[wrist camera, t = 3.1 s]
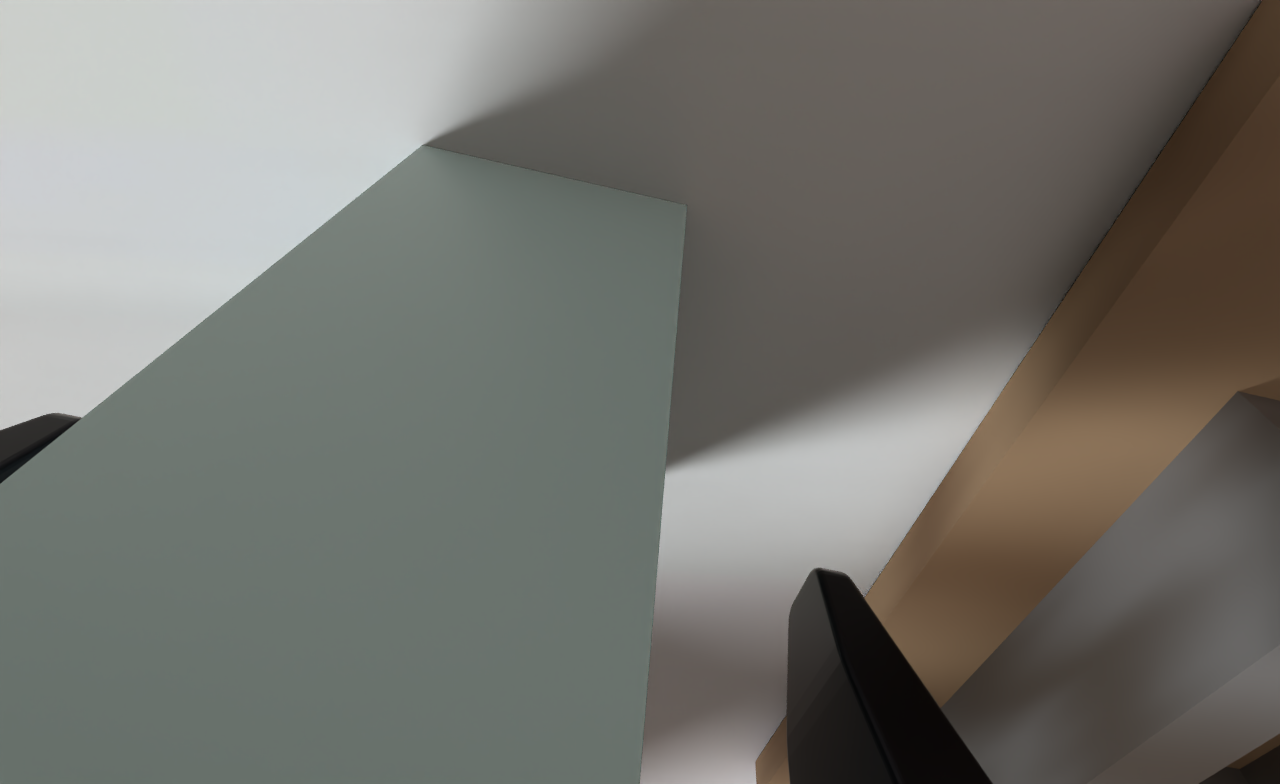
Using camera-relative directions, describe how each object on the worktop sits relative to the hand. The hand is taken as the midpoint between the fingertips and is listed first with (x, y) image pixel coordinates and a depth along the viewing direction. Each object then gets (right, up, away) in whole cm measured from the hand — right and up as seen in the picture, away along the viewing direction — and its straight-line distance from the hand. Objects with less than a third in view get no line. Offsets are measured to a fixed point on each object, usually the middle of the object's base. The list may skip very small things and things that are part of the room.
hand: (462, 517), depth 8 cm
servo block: (0, +2, +3) cm, 4 cm away
